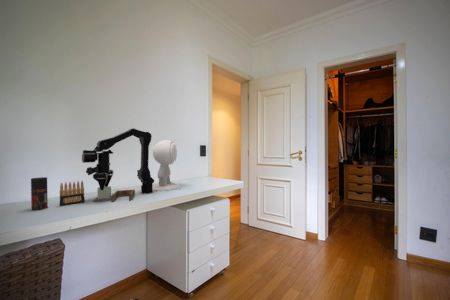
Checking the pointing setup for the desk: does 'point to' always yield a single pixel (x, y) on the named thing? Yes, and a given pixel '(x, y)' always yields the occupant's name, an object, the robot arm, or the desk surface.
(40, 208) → the black red box
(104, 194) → the block
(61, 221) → the desk surface
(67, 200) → the ammunition clip
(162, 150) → the big headed doll
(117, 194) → the frame
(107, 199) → the mat
